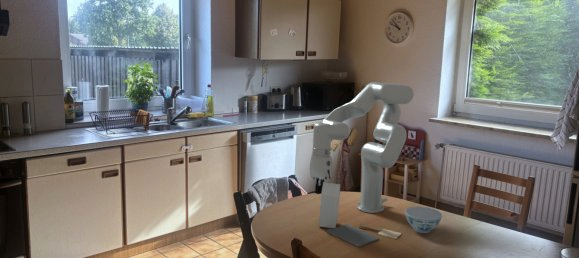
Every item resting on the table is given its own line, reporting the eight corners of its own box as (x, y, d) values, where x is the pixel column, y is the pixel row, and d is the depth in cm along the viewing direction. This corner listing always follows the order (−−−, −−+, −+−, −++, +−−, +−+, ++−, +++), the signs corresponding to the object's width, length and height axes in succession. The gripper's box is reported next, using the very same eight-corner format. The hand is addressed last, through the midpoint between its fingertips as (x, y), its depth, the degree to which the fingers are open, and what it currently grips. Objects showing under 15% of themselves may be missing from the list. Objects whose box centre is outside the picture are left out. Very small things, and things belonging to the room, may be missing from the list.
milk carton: (335, 229, 206) (339, 187, 201) (318, 226, 208) (321, 185, 202) (337, 221, 213) (341, 181, 207) (320, 218, 214) (324, 178, 209)
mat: (347, 225, 211) (347, 224, 211) (378, 239, 197) (379, 238, 197) (326, 231, 203) (326, 230, 203) (358, 247, 190) (358, 245, 189)
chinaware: (443, 227, 211) (445, 210, 209) (436, 240, 198) (437, 222, 196) (409, 220, 218) (410, 204, 216) (399, 232, 205) (400, 214, 203)
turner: (362, 224, 211) (363, 222, 211) (401, 234, 203) (401, 232, 203) (357, 229, 206) (357, 227, 206) (396, 239, 198) (396, 237, 198)
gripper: (340, 154, 205) (337, 196, 208) (316, 147, 216) (314, 187, 220) (326, 156, 200) (324, 199, 204) (303, 149, 212) (301, 190, 215)
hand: (319, 193), depth 212 cm, fingers closed
